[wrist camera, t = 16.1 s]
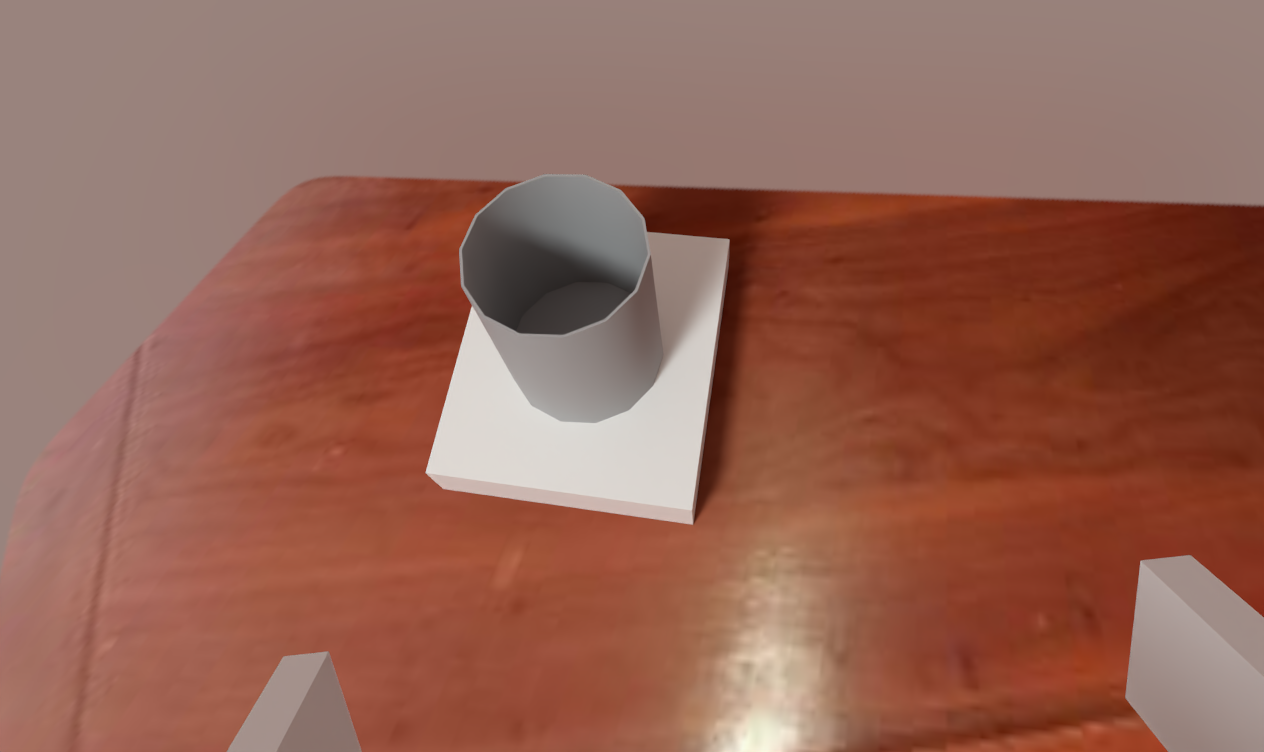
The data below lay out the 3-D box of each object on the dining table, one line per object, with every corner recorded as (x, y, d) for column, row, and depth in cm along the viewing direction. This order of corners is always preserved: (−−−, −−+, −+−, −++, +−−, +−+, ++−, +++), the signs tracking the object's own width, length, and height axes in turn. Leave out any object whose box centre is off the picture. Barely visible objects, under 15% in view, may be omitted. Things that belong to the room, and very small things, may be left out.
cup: (692, 368, 42) (688, 269, 33) (563, 453, 41) (521, 375, 32) (607, 260, 46) (581, 143, 36) (484, 336, 44) (426, 234, 35)
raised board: (728, 267, 48) (729, 239, 45) (693, 524, 42) (691, 510, 39) (508, 246, 50) (496, 218, 47) (443, 488, 44) (425, 472, 41)
